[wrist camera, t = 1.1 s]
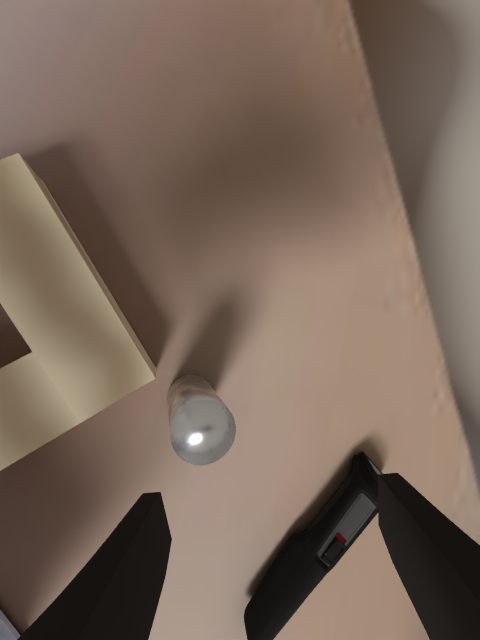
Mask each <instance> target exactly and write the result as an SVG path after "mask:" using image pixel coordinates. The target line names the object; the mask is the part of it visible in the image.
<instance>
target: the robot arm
mask: <svg viewBox="0 0 480 640" xmlns="http://www.w3.org/2000/svg"><path fill="white" fill-rule="evenodd" d="M378 514H379V527H380V530H381V532H382V535H383V538H384V541H385V543H386V546H387V549H388V551H389V554H390V556H391V559H392V562H393V564H394V566H395V568H396V570H397V572H398V574H399V577H400V579H401V581H402V583H403V585H404V587H405V589H406V591H407V593H408V595H409V597H410V599H411V601H412V603H413V605H414V607H415V610H416V612H417V614H418V616H419V618H420V620H421V622H422V624H423V626H424V628H425V630H426V632H427V634H428V636H429V638H430V640H480V545H479V544H477V543H476V542H475V541H474V540H473V539H471V538H470V537H469V536H468V535H467V534H466V533H464V532H463V531H462V530H461V529H460V528H459V527H457V526H456V525H455V524H454V523H453V522H452V521H450V520H449V519H448V518H447V517H446V516H445V515H444V514H442V513H441V512H440V511H439V510H438V509H437V508H436V507H435V506H434V505H432V504H431V503H430V502H429V501H428V500H427V499H426V498H425V497H424V496H422V495H421V494H420V493H419V492H418V491H417V490H416V489H415V488H414V487H413V486H412V485H410V484H409V483H408V482H407V481H406V480H405V479H404V478H403V477H402V476H401V475H399V474H398V473H390V474H378ZM171 540H172V538H171V534H170V530H169V526H168V521H167V517H166V513H165V509H164V505H163V500H162V496H161V492H154V493H143V494H142V495H141V496H140V498H139V499H138V500H137V501H136V503H135V504H134V505H133V507H132V508H131V509H130V510H129V512H128V513H127V514H126V515H125V517H124V518H123V519H122V521H121V522H120V523H119V524H118V526H117V527H116V528H115V529H114V531H113V532H112V533H111V535H110V536H109V537H108V538H107V539H106V541H105V542H104V543H103V544H102V546H101V547H100V548H99V549H98V551H97V552H96V553H95V554H94V555H93V557H92V558H91V559H90V560H89V561H88V563H87V564H86V565H85V566H84V567H83V569H82V570H81V571H80V572H79V573H78V574H77V575H76V577H75V578H74V579H73V580H72V581H71V582H70V583H69V585H68V586H67V587H66V588H65V589H64V590H63V591H62V593H61V594H60V595H59V596H58V597H57V598H56V599H55V600H54V601H53V603H52V604H51V605H50V606H49V607H48V608H47V609H46V610H45V611H44V612H43V613H42V614H41V615H40V616H39V618H38V619H37V620H36V621H35V622H34V623H33V624H32V625H31V626H30V627H29V628H28V629H27V630H26V631H25V632H24V633H23V634H22V635H21V636H20V634H19V633H18V632H17V630H16V629H15V628H14V627H13V625H12V624H11V623H10V621H9V620H8V619H7V618H6V616H5V615H4V614H3V612H2V611H1V610H0V640H148V638H149V635H150V631H151V628H152V624H153V620H154V617H155V613H156V609H157V606H158V602H159V598H160V595H161V591H162V587H163V583H164V580H165V575H166V570H167V564H168V559H169V553H170V547H171Z"/></svg>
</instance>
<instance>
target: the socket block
mask: <svg viewBox="0 0 480 640" xmlns="http://www.w3.org/2000/svg"><path fill="white" fill-rule="evenodd" d="M0 304H1V305H2V307H3V308H4V310H5V311H6V313H7V314H8V316H9V317H10V319H11V320H12V322H13V323H14V325H15V326H16V328H17V329H18V331H19V332H20V334H21V335H22V337H23V338H24V340H25V341H26V343H27V344H28V346H29V347H30V349H31V350H32V352H31V353H29V354H27V355H25V356H23V357H21V358H20V359H18V360H16V361H14V362H12V363H10V364H8V365H6V366H4V367H2V368H0V471H1V470H2V469H4V468H6V467H8V466H9V465H11V464H13V463H14V462H16V461H18V460H19V459H21V458H23V457H24V456H26V455H28V454H29V453H31V452H33V451H34V450H36V449H38V448H39V447H41V446H43V445H44V444H46V443H48V442H50V441H51V440H53V439H55V438H56V437H58V436H60V435H61V434H63V433H65V432H66V431H68V430H70V429H71V428H73V427H75V426H76V425H78V424H80V423H81V422H83V421H85V420H87V419H88V418H90V417H92V416H93V415H95V414H97V413H98V412H100V411H102V410H103V409H105V408H107V407H108V406H110V405H112V404H113V403H115V402H117V401H118V400H120V399H122V398H124V397H125V396H127V395H129V394H130V393H132V392H134V391H135V390H137V389H139V388H140V387H142V386H144V385H145V384H147V383H149V382H150V381H152V380H154V379H155V378H156V367H155V366H154V364H153V362H152V361H151V359H150V357H149V356H148V354H147V352H146V351H145V349H144V347H143V346H142V344H141V343H140V341H139V339H138V338H137V336H136V334H135V333H134V331H133V329H132V328H131V326H130V324H129V323H128V321H127V319H126V318H125V316H124V314H123V313H122V311H121V309H120V308H119V306H118V304H117V303H116V301H115V299H114V298H113V296H112V294H111V293H110V291H109V290H108V288H107V286H106V285H105V283H104V281H103V280H102V278H101V276H100V275H99V273H98V271H97V270H96V268H95V266H94V265H93V263H92V261H91V260H90V258H89V256H88V255H87V253H86V251H85V250H84V248H83V246H82V245H81V243H80V242H79V240H78V238H77V237H76V235H75V233H74V232H73V230H72V228H71V227H70V225H69V223H68V222H67V220H66V218H65V217H64V215H63V213H62V212H61V210H60V208H59V207H58V205H57V203H56V202H55V200H54V198H53V197H52V195H51V194H50V192H49V190H48V189H47V187H46V185H45V184H44V182H43V181H42V180H41V179H40V177H39V176H38V175H37V174H36V173H35V172H34V170H33V169H32V168H31V167H30V166H29V164H28V163H27V162H26V161H25V160H24V159H23V157H22V156H21V155H20V154H19V153H17V154H14V155H11V156H8V157H5V158H3V159H0Z"/></svg>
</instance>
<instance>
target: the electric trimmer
mask: <svg viewBox="0 0 480 640" xmlns="http://www.w3.org/2000/svg"><path fill="white" fill-rule="evenodd" d="M352 460H353V467H354V469H353V471H352V472H351V473H350V475H349V476H348V477H347V479H346V480H345V481H344V482H343V484H342V485H341V486H340V488H339V489H338V490H337V491H336V493H335V494H334V495H333V497H332V498H331V499H330V500H329V502H328V503H327V504H326V506H325V507H324V508H323V509H322V511H321V512H320V513H319V515H318V516H317V517H316V519H315V520H314V521H313V522H312V524H311V525H310V526H309V528H308V529H307V530H306V531H303V532H300V533H297V534H293V535H292V536H291V537H290V539H289V540H288V542H287V543H286V545H285V546H284V548H283V549H282V551H281V553H280V554H279V556H278V557H277V559H276V560H275V562H274V563H273V565H272V567H271V568H270V570H269V571H268V573H267V575H266V576H265V578H264V579H263V581H262V582H261V584H260V586H259V587H258V589H257V590H256V592H255V594H254V595H253V597H252V598H251V600H250V602H249V603H248V605H247V607H246V609H245V613H244V622H245V628H246V634H247V639H248V640H273V639H274V638H275V637H276V635H277V634H278V633H279V632H280V630H281V629H282V628H283V627H284V625H285V624H286V623H287V622H288V620H289V619H290V618H291V617H292V615H293V614H294V613H295V612H296V610H297V609H298V608H299V607H300V606H301V604H302V603H303V602H304V601H305V599H306V598H307V597H308V596H309V594H310V593H311V592H312V591H313V589H314V588H315V587H316V586H317V585H318V584H319V582H320V581H321V580H322V579H323V578H324V576H325V575H326V574H327V573H328V572H329V571H330V570H331V569H332V568H333V567H334V566H335V565H336V564H337V562H338V561H339V560H340V559H341V557H342V556H343V555H344V554H345V552H346V551H347V550H348V549H349V548H350V546H351V545H352V544H353V543H354V541H355V540H356V539H357V538H358V536H359V535H360V534H361V533H362V532H363V530H364V529H365V528H366V527H367V525H368V524H369V523H370V522H371V520H372V519H373V518H374V517H375V516H376V514H377V513H378V474H383V473H382V472H381V471H380V470H379V469H378V468H377V467H376V465H375V464H374V463H373V462H372V461H371V460H370V459H369V458H368V456H367V455H366V454H365V453H364V452H362V453H361V454H360V456H357V455H354V457H353V459H352ZM363 462H364V463H363Z"/></svg>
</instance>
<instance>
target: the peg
mask: <svg viewBox="0 0 480 640" xmlns="http://www.w3.org/2000/svg"><path fill="white" fill-rule="evenodd" d="M167 400H168V411H169V422H170V433H171V442H172V446H173V448H174V450H175V452H176V453H177V455H178V456H179V457H180V458H181V459H183V460H184V461H186V462H188V463H190V464H194V465H206V464H210V463H213V462H215V461H217V460H219V459H220V458H221V457H223V456H224V455H225V454H226V453H227V452H228V450H229V449H230V447H231V446H232V444H233V441H234V438H235V433H236V425H235V421H234V418H233V416H232V414H231V412H230V411H229V409H228V408H227V407H226V405H225V404H224V403H223V402H222V400H221V399H220V398H219V396H218V395H217V394H216V392H215V391H214V390H213V388H212V387H211V386H210V385H209V383H208V382H207V381H206V380H205V379H204V378H202V377H200V376H198V375H185V376H182V377H180V378H178V379H177V380H176V381H175V382H174V383H173V384H172V385H171V387H170V389H169V391H168V397H167Z"/></svg>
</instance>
